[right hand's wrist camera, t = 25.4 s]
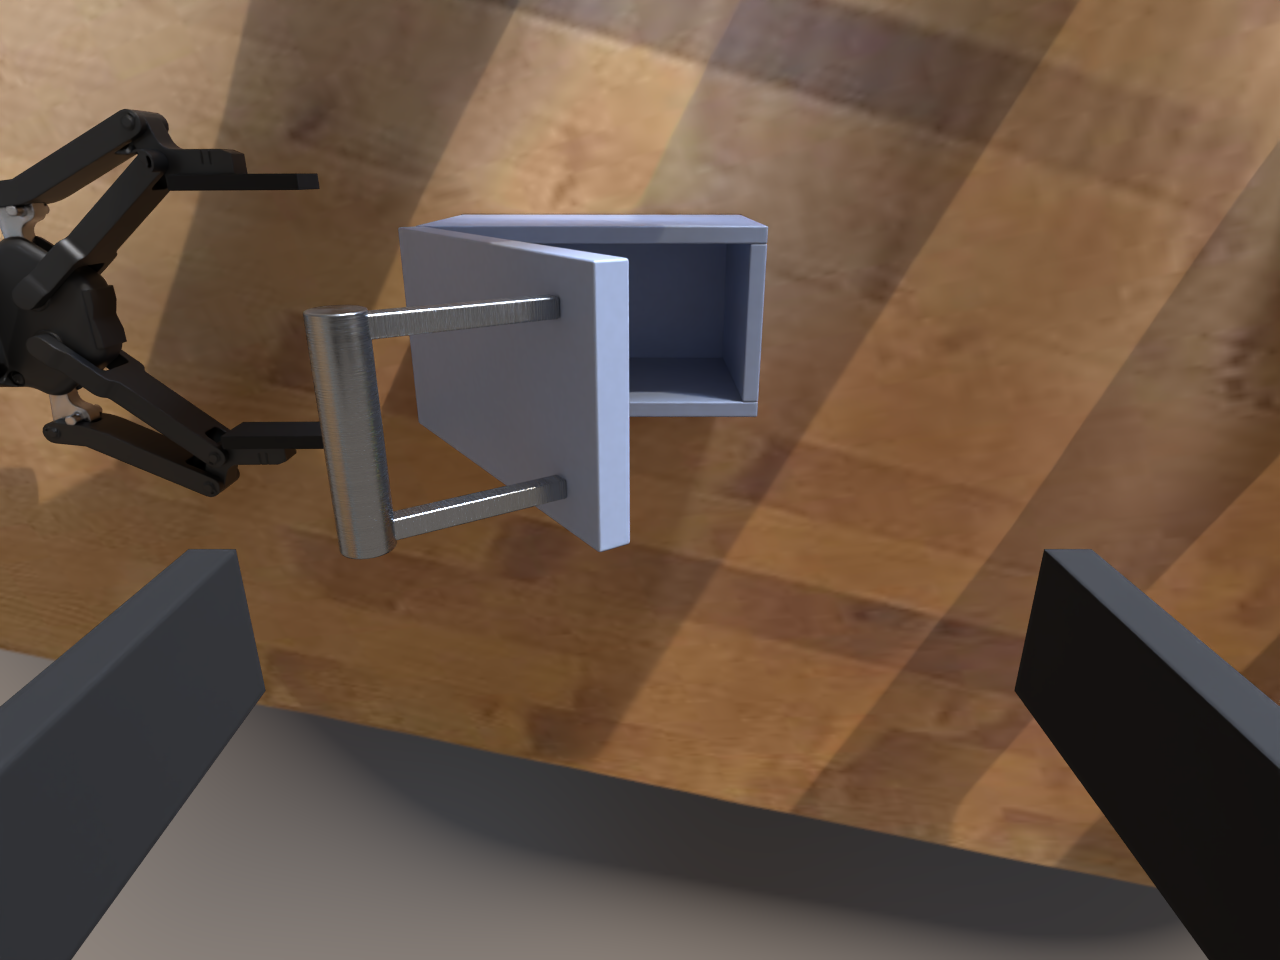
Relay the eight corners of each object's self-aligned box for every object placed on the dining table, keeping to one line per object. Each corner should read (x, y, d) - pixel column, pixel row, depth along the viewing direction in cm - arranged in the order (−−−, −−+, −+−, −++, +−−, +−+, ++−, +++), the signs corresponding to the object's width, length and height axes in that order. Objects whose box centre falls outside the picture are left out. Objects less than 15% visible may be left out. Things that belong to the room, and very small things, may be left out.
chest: (740, 214, 47) (768, 225, 37) (733, 367, 50) (757, 417, 40) (464, 213, 47) (414, 225, 37) (475, 367, 50) (433, 417, 40)
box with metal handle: (629, 258, 23) (319, 278, 18) (631, 544, 26) (368, 621, 22) (424, 226, 36) (214, 233, 32) (442, 418, 40) (255, 450, 35)
